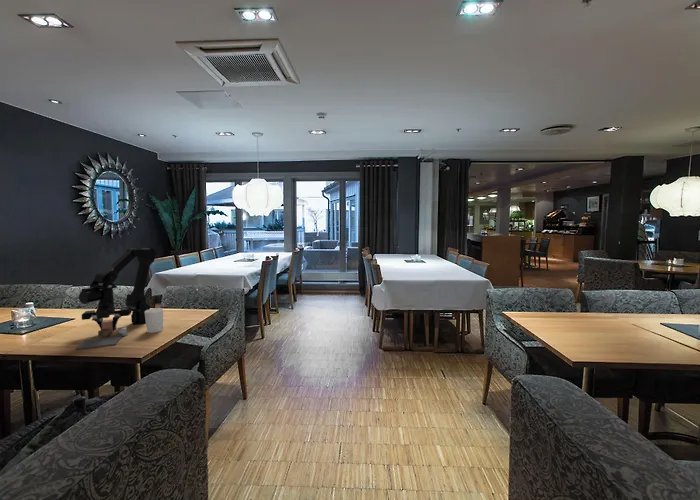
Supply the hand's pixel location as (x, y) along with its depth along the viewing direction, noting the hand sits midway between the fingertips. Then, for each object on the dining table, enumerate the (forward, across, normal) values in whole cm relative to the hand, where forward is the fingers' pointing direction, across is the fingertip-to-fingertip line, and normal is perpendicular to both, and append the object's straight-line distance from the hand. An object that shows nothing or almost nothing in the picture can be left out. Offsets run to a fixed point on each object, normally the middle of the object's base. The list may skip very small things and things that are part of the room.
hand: (108, 330), depth 166 cm
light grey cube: (+1, +7, -6) cm, 10 cm away
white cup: (+1, +20, -4) cm, 20 cm away
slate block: (+1, 0, +6) cm, 6 cm away
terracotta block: (+1, 0, 0) cm, 1 cm away
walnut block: (+1, 0, -6) cm, 6 cm away
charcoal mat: (+1, 0, -14) cm, 14 cm away
